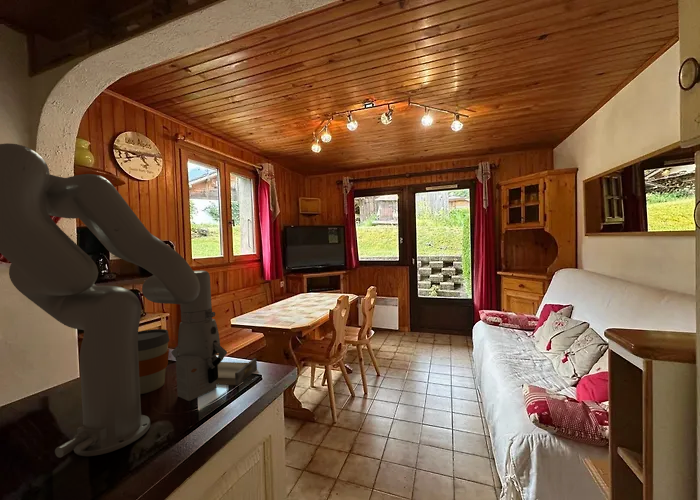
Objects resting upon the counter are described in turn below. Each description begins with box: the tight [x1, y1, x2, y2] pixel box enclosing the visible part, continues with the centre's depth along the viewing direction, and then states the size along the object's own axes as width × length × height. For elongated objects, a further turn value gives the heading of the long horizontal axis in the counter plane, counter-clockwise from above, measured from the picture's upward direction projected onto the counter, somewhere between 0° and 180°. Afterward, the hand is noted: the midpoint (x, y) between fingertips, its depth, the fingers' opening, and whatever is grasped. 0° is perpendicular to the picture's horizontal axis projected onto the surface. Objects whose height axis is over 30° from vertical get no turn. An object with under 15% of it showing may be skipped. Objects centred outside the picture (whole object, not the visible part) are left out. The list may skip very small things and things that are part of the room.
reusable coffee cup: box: [138, 328, 170, 395], centre depth 86 cm, size 13×13×15 cm
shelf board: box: [216, 358, 258, 386], centre depth 91 cm, size 11×17×4 cm, turn 80°
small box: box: [175, 356, 217, 402], centre depth 81 cm, size 8×6×10 cm
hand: (200, 380), depth 82 cm, fingers closed on small box, 7 cm apart
